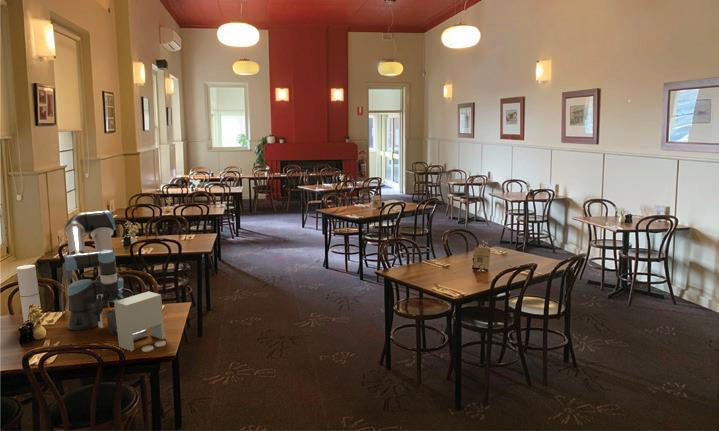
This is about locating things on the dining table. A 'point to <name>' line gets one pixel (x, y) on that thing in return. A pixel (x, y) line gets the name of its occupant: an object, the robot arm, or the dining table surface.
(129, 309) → the cabinet
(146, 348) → the coaster
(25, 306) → the container
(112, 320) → the scraper
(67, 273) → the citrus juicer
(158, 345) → the coaster
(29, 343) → the dining table surface
